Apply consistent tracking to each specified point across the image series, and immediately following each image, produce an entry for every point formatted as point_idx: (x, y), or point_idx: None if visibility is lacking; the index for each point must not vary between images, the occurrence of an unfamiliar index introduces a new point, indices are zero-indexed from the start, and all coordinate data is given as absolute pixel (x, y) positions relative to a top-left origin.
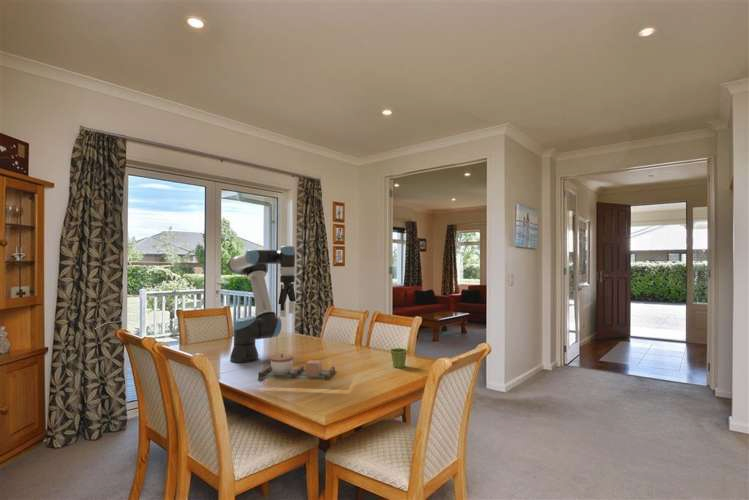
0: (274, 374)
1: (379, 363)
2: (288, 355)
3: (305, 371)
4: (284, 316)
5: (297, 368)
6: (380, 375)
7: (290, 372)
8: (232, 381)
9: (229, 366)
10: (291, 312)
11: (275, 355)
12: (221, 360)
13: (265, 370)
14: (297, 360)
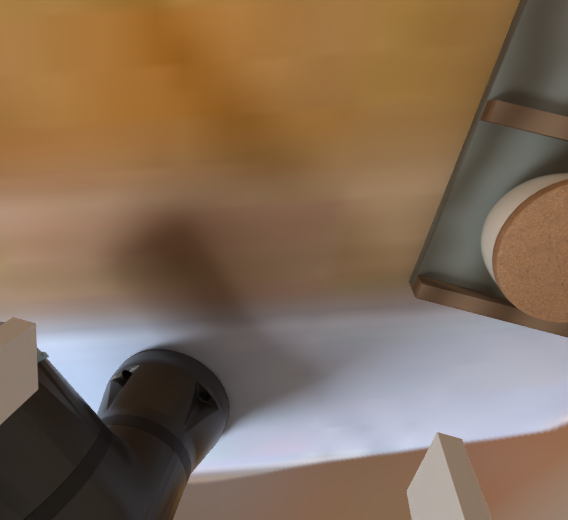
0: None
1: None
2: (553, 214)
3: (533, 85)
4: (457, 453)
5: (559, 137)
6: None
7: (526, 177)
8: (532, 411)
9: (284, 439)
10: (24, 361)
11: (516, 298)
12: None
13: None
14: (187, 158)
